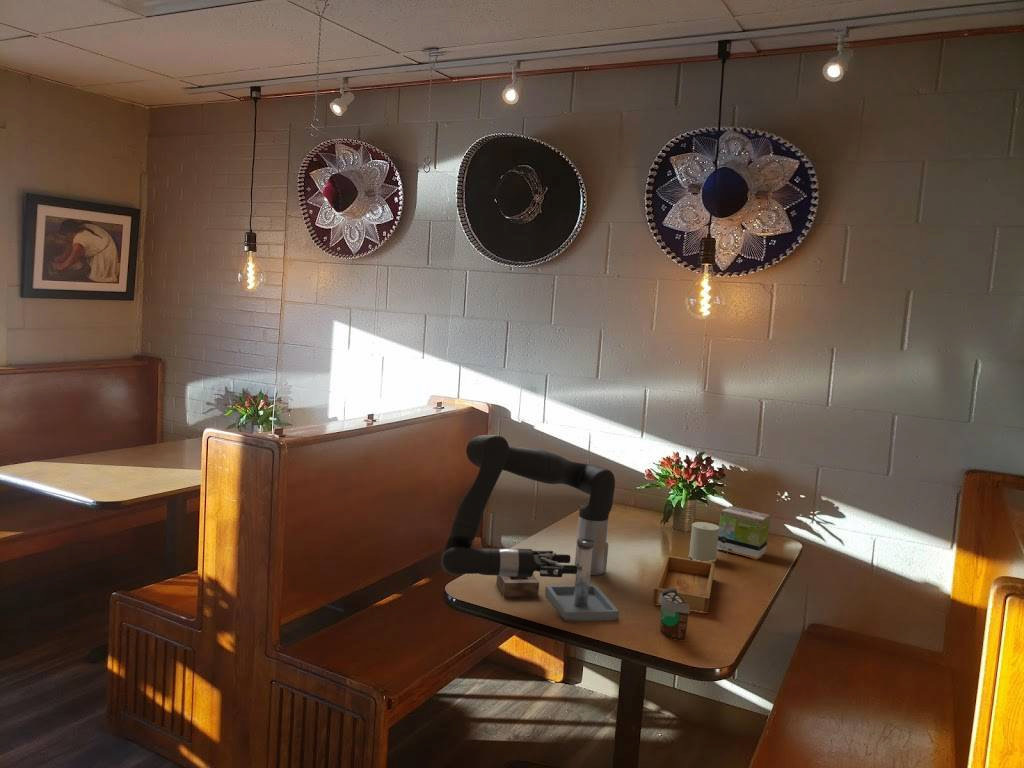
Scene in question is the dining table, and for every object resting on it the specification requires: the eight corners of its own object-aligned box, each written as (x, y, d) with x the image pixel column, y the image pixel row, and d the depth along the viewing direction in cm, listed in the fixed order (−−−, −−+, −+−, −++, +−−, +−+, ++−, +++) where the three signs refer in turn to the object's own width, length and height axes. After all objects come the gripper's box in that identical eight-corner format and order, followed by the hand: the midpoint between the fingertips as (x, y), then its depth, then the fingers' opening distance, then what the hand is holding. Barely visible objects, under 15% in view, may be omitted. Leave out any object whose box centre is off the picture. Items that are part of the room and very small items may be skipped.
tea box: (715, 550, 278) (719, 510, 276) (724, 544, 286) (729, 504, 285) (758, 561, 270) (762, 519, 268) (766, 554, 278) (771, 513, 277)
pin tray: (594, 593, 229) (595, 584, 229) (618, 620, 211) (619, 611, 211) (545, 594, 226) (545, 585, 225) (564, 621, 207) (565, 612, 207)
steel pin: (574, 599, 221) (579, 537, 219) (591, 603, 219) (596, 540, 217) (569, 605, 217) (574, 542, 215) (586, 609, 215) (591, 545, 213)
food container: (650, 622, 211) (653, 586, 210) (672, 623, 211) (676, 587, 210) (662, 642, 199) (666, 604, 198) (686, 643, 199) (690, 605, 198)
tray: (707, 616, 219) (709, 596, 219) (652, 606, 224) (654, 587, 223) (713, 580, 248) (715, 563, 248) (664, 572, 253) (666, 555, 252)
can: (686, 559, 266) (689, 525, 264) (690, 552, 274) (694, 518, 273) (714, 565, 262) (717, 530, 261) (717, 557, 271) (721, 523, 269)
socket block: (529, 583, 233) (530, 570, 233) (538, 596, 224) (539, 582, 223) (496, 583, 231) (497, 570, 230) (503, 596, 221) (504, 583, 221)
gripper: (520, 558, 206) (580, 559, 209) (512, 540, 220) (569, 542, 223) (518, 585, 207) (578, 586, 210) (510, 566, 221) (566, 568, 224)
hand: (573, 564), depth 216 cm, fingers open, 8 cm apart
